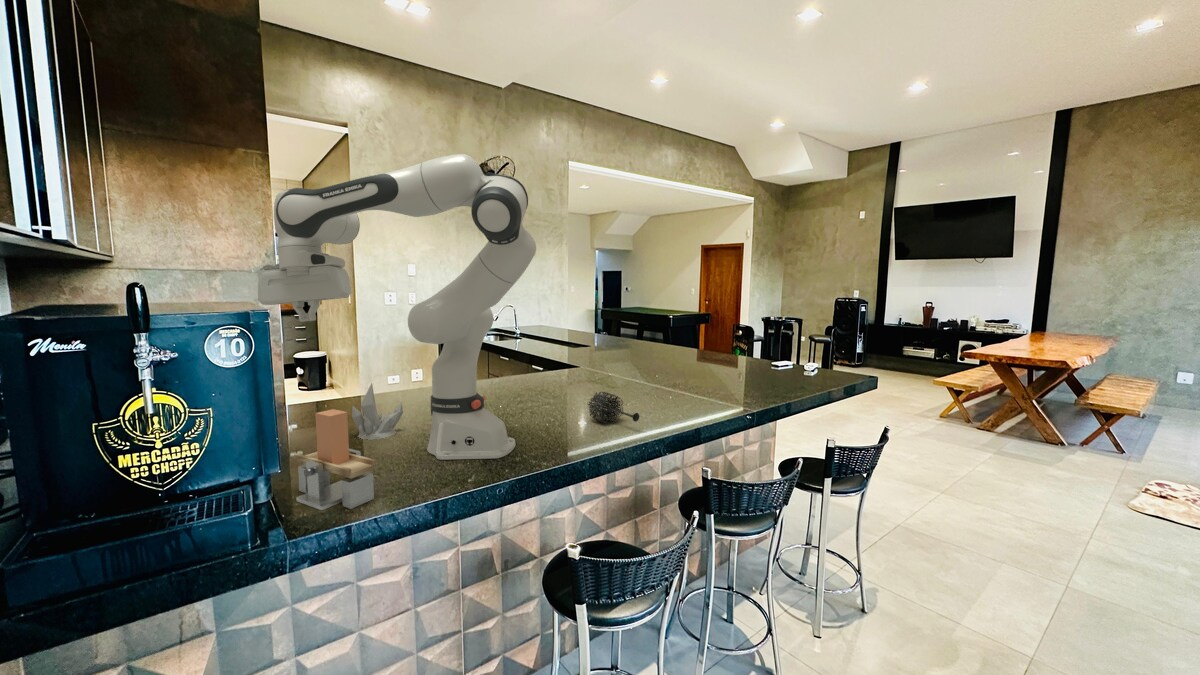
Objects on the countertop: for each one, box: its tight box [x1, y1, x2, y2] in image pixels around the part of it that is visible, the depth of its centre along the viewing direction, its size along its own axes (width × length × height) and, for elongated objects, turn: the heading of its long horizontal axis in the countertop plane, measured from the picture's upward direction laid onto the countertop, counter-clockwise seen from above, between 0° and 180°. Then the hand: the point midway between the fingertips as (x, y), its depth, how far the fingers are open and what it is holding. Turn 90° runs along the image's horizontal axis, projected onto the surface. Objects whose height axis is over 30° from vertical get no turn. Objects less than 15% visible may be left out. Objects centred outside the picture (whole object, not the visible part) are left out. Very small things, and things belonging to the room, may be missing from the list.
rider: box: [314, 408, 350, 465], centre depth 95 cm, size 5×4×10 cm
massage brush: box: [586, 391, 640, 425], centre depth 148 cm, size 9×22×9 cm, turn 39°
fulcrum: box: [295, 448, 375, 511], centre depth 96 cm, size 16×11×8 cm
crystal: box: [351, 383, 404, 441], centre depth 135 cm, size 10×13×15 cm
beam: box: [293, 451, 377, 478], centre depth 95 cm, size 17×6×2 cm, turn 62°
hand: (307, 321), depth 111 cm, fingers closed
